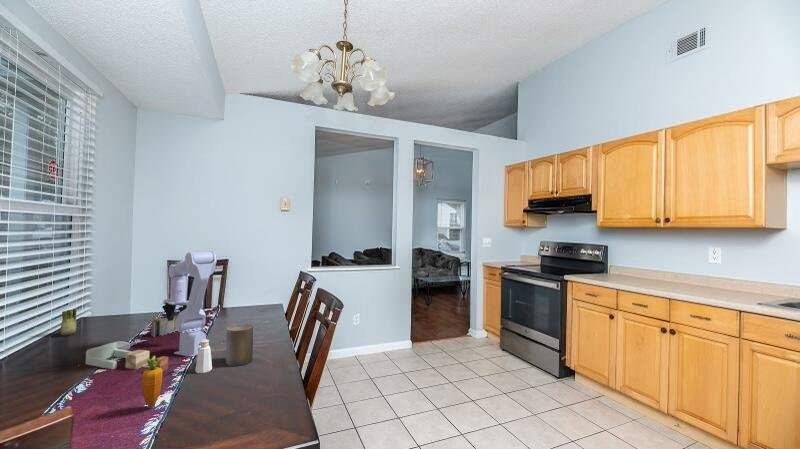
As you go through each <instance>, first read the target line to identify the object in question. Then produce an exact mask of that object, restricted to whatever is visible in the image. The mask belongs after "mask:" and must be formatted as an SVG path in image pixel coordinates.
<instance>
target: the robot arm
mask: <svg viewBox="0 0 800 449" xmlns="http://www.w3.org/2000/svg"><path fill="white" fill-rule="evenodd" d="M216 265H217V256H216V253H215V252H214V251H213V250H212V251H196V252H192V251H188V252H187V253H186V254H185V258H183V257H182V258H181V260H180V261H178V262H177V263H176V264H169V268H168V275H169V278H170V298H168V299H163V302H162V304H163V305H162V307H161V308H162V309H163V311H164V313H165V316H166V318H167V319H168V321H172V320H173V319H174V316H175V310H176V307H177V306H180V307H177V308H178V311H179V312H178V315H177V316H178V317H177V318H176V320H175V328H176V330H177V331H178V333H179V350H178V351H175V352H174V353H173V354H174V355H180V356H184V357H185V356H186V357H195V356H198V349H199V348H200V346H201V345H200V344H201V343H200V341H201V340H205V339H207V335H206V333H205V332H203V331H202V330H203V329H202V328H204V327H205V325H206V316H207V315H206V313H205V310H204V309H203V308H202V304H203V301H204V297H205V294H206V290H207V287H208V284H209V281H210V280H209V279H210V276H211V275H213V274H214V272H215V268H216ZM188 276H191V277H193V282H192V285H191V289H190V293H189V297H188V300H186V291H187V290H186V289H187V281H188Z"/></svg>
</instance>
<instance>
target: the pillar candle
mask: <svg viewBox="0 0 800 449" xmlns="http://www.w3.org/2000/svg"><path fill="white" fill-rule="evenodd" d="M225 343H226V344H225V346H226V347H225V348H226V349H225V350H226V351H225V365H227V366H231V367H238V366H243V365H244V366H245V365H247V364H250V363H252V362H253V360H254V358H253V355H254V325H253V324H252V323H241V322H240V323H235V324H232V325H230V326H227V327H226V342H225Z"/></svg>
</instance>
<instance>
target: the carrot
mask: <svg viewBox="0 0 800 449" xmlns="http://www.w3.org/2000/svg"><path fill="white" fill-rule="evenodd" d="M155 359H156V355H152V357H151V358H149V359H148V360H147V362H148V364H149V365H148V366H150V368H146V369H145V370H144V371H143V373H142V376H141V391H142V395H143V399H144V401H145V404H146V405H147V407H148V408H149V409H153V408H154V406H155V405H156V403H157V401H158V399H159V396H160V392H161V389H162V386H163V385H162V382H163V372H164V371H163V370H162V369H161V368H158V367H156V366H157V364H158V363H159V362H160V361H161V360H162V359H163V358H160V359H159V360H158V361H157V362H155Z"/></svg>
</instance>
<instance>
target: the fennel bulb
mask: <svg viewBox="0 0 800 449" xmlns="http://www.w3.org/2000/svg"><path fill="white" fill-rule="evenodd" d="M61 317H62V320H61V323H60V324H61V325H60V330H59V331H60V335H61V336H63V337H67V336H72V335H74V334H76V331H77V308H73V309H67V310H63V311H62V312H61Z"/></svg>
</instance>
